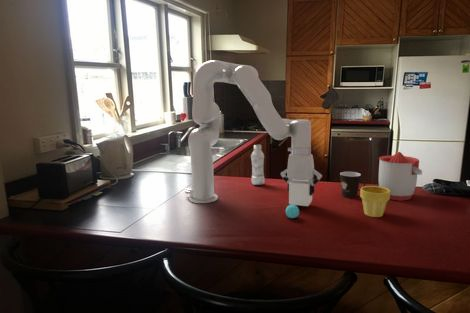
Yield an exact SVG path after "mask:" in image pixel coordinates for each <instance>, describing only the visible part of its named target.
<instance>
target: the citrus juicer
mask: <svg viewBox="0 0 470 313" xmlns="http://www.w3.org/2000/svg"><path fill="white" fill-rule="evenodd" d="M378 160H379V165H378V187H383V188H387V189H389V190H390V198H389V200H395V201H399V202H403V201H407V200H411V199H412V197H413V195H414V193H415V190H416V186H417V181H418V175H419V176H421V175H423V170H422V169H420V168H419V167H420V159H418V158H416V157H413V156H405V155H404V154H403V153H402V152H400V151H397V152H396V153H395V154H393V155H382V156H379V157H378Z"/></svg>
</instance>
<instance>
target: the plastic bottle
mask: <svg viewBox="0 0 470 313" xmlns="http://www.w3.org/2000/svg"><path fill="white" fill-rule="evenodd" d="M262 148H263V147H262V145H261V144H254V145H253V151H252V153H251V154H250V159H251V170H252V171H251V177H250V178H251V184H253V185H254V186H262V185H264V184H265V180H266V179H265V174H264V162H265V160H264V159H265V154H264V152H263V150H262Z"/></svg>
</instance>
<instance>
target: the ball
mask: <svg viewBox="0 0 470 313" xmlns="http://www.w3.org/2000/svg"><path fill="white" fill-rule="evenodd" d="M285 215H286V216H287V217H288V218H290V219H295V218H297V217H298V216H299V215H300V208H299V207H298V205H292V204H289V205H287V206H286V209H285Z"/></svg>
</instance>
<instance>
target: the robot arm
mask: <svg viewBox="0 0 470 313" xmlns="http://www.w3.org/2000/svg"><path fill="white" fill-rule="evenodd" d="M215 83H227V84H232V85H236V86H237V88H238V89H239V90H240V91H241V93H242V94H243V95H244V96H245V98H246V100H247V101H248V102H249V104H250V105H251V107H252V108H253V110H254V113H255V114H256V117H257V118H258V120H259V122H260V123H261V125H262V126H263V128H264V129H265V131H266V132H267V133H268V135H269V136H270V137H271V138H272V139H274V140H277V141H282V140H285V139H286V138H288V137H291V138H290V139H291V146H290V147H287V152H290V154H288V159H287V160H288V161H287V168H286V169H284V170H283V171H281V172H280V176H281V178H282V179H283V180H284V181H285V182H286V184H287V191H288V192H289V183H290V182H291V181H292V180H307V181H309V182H310V184H311V185H310V196H312V197H313V194H314V193H315V185H316V184H318V182H319V181H320V180H321V178H322V177H323V175H322V174H321V173H320V172H319V171H317V170H316V169H315V163H314V162H315V161H314V156H313V154H312V153H311V152H312V123H311V121H310V120H309V119H304V118H303V119H301V118H297V119H291V118H290V119H289V118H282V117H281V116H280V114H279V113H278V111H277V110H276V108H275V107H274V104H273V102H272V95H271V93H270V92H269V91H268V89H267V88H266V86H265V85H264V83H263V82H262V80H260V78H259V72H258V70H257V69H256V68H255V67H254V66H252V65H247V64H238V63H232V62H228V61H221V60H217V59H212V60H207V61H205V62H203V63H202V64H201V65H199V66H198V67H197V69H196V71H195V73H194V75H193V92H192V93H193V94H192V108H191V109H192V110H191V114H192V120H193V121H194V123H196V124H197V125H199V127H197V128H195V129H193V130H191V132H190V133H189V135H188V138H187V139H188V140H187V143H188V149H189V156H190V157H189V158H190V168H191V170H190V171H191V188H190V187H189V188H188V187H186V188H185V191H184V192H185V194H187V195H189V197H188V200H189V202H191V203H193V204H194V203H195V204H208V203H213V202H216V201H217V200H218V197H219V195H218V194H216V193H215V183H214V182H215V178H214V159H213V153H212V147H213V146H214V145H216V144H217V143H218V141H219V138H220V131H221V130H220V129H221V128H220V127H221V110H220V107H219V105H218V104H217V103H216V102H215V101H214V96H215V95H214V94H215V90H214V89H215V88H214V85H215ZM286 174H287V175H286ZM315 176H316V179H314V177H315Z"/></svg>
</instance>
